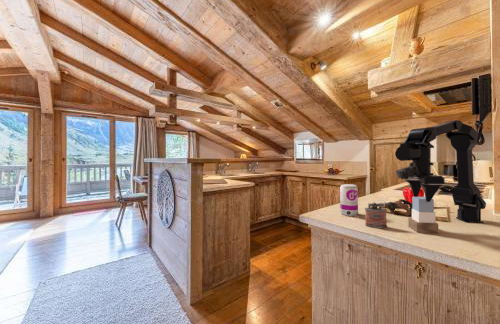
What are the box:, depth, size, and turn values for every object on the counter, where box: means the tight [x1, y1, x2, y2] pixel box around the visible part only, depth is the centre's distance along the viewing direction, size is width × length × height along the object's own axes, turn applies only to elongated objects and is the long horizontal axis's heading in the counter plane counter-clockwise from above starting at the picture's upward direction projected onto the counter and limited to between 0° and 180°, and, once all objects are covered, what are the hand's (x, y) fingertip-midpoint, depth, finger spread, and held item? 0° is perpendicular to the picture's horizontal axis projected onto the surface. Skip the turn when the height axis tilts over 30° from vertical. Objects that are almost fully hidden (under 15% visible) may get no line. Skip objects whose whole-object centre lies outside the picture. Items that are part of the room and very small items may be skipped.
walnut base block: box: [407, 217, 439, 235], centre depth 87 cm, size 7×7×4 cm
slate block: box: [411, 196, 435, 212], centre depth 87 cm, size 5×5×5 cm
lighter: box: [364, 201, 388, 229], centre depth 93 cm, size 8×3×10 cm, turn 70°
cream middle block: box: [411, 209, 436, 223], centre depth 87 cm, size 6×6×4 cm
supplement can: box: [339, 183, 359, 217], centre depth 112 cm, size 8×8×15 cm
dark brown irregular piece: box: [386, 198, 412, 217], centre depth 110 cm, size 12×10×8 cm
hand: (421, 199), depth 87 cm, fingers open, 9 cm apart
